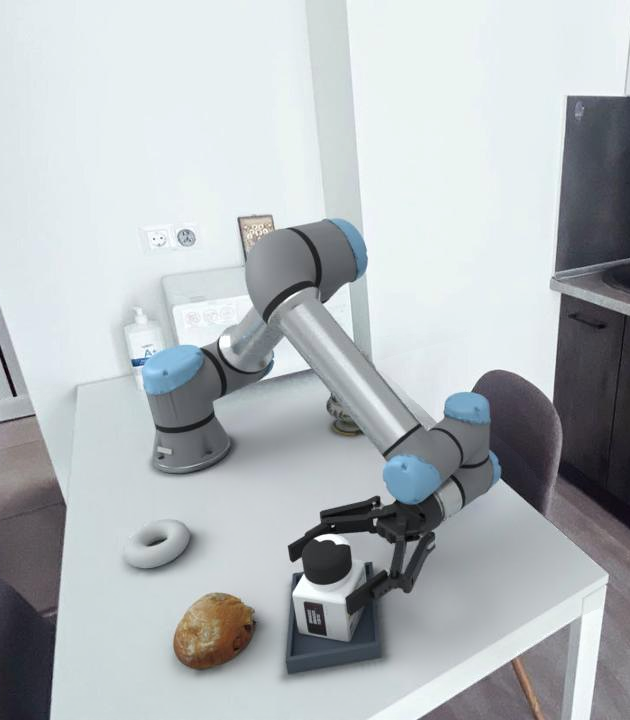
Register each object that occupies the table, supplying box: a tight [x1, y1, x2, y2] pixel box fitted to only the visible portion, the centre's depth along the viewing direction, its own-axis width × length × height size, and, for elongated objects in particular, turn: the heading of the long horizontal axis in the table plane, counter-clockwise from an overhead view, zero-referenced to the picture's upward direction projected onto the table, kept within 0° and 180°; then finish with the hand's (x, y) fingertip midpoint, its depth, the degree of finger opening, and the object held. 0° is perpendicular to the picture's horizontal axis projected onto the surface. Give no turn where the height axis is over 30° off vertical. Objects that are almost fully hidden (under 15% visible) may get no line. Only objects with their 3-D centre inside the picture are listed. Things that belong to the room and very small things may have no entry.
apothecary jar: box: [325, 349, 377, 436], centre depth 126 cm, size 12×12×18 cm
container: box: [292, 534, 366, 642], centre depth 76 cm, size 8×8×13 cm
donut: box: [123, 518, 191, 569], centre depth 91 cm, size 10×4×10 cm
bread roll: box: [172, 591, 258, 670], centre depth 75 cm, size 10×10×8 cm
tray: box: [284, 561, 382, 675], centre depth 78 cm, size 15×12×2 cm
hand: (317, 579), depth 74 cm, fingers open, 13 cm apart
